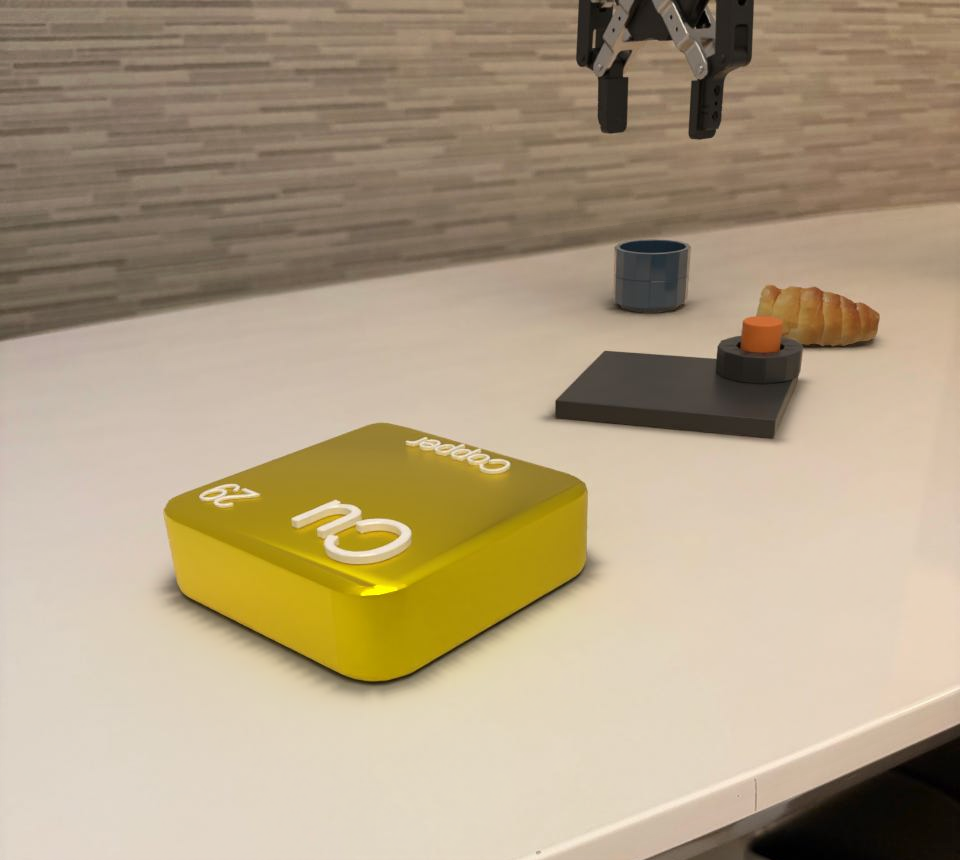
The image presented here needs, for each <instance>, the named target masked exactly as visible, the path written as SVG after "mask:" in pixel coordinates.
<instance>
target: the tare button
mask: <svg viewBox="0 0 960 860" xmlns="http://www.w3.org/2000/svg"><path fill="white" fill-rule="evenodd" d="M782 326H783V321H782V320H781V319H778V318H775V317H769V316H756V315H755V316H749V317H746V318H744V319H743V320H742V327H741V335H740V336H741V347H740V349H741V350H745V351H749V352H761V353H766V352H777V351H780V344H781V335H782Z"/></svg>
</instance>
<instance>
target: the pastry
mask: <svg viewBox="0 0 960 860" xmlns="http://www.w3.org/2000/svg"><path fill="white" fill-rule="evenodd" d="M758 302H759V303H758V307H757V311H756V313H755V316H769V317H775V318H778V319H781V320H782V321H783V326H782V335H781V337H783V338H787V339H791V340H795V341H797V342H798V343H800V344H801V345H807V346H809V345H811V344H815V345H820V346H821V347H822V348H823V347H824V346H831V347H834V346H843V347H845V346H847V345H851V344H855V343H857V342H869V341H870V340H871V339H874V338H875V337H876V336H877V335H878V332H879V324H880V315H881V314H880V313H879V312H878V311H876V310H875V309H873V308H872V307H871V306H869V305H867V304H866V303H864V302H861V301H860V302H854V301H853V300H851V299H849V298H847V297H846V296H844V295H842V294H841V295H840V294H839V293H834V292H832V291H824V290H821V289H820V288H819V287H817V286H810V287H800V286H793V285H791V286H788V287H786V288H778V287H777V286H776V285H774V284H766V285H765V286H764V287H763V288H762V290H761V292H760V298H759V301H758Z"/></svg>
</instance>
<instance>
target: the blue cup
mask: <svg viewBox="0 0 960 860" xmlns="http://www.w3.org/2000/svg"><path fill="white" fill-rule="evenodd" d="M691 252H692V246H691V245H690V244H689V243H687V242H684V241H682V240H674V239H659V238H658V239H656V238H651V239H649V238H647V239H634V240H627V241H622V242H619V243H617V244H616V245H614V254H613V255H614V259H613V289H612V292H613V293H612V294H613V295H612V299H613V301H614V303H615V304H618V305H619V307H620V308H622V309H623V310H626V311H630V312H635V313H652V314H653V313H665V312H671V311H674V310H676V309H679V308H680V306H681V305H683V304H685V303H687V300H689V299H688V298H689V283H690V269H691V254H692V253H691Z"/></svg>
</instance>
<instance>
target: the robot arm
mask: <svg viewBox="0 0 960 860" xmlns="http://www.w3.org/2000/svg"><path fill="white" fill-rule="evenodd" d="M710 1H711V0H578V11H577V31H576V32H577V33H576V49H575V51H576V53H575V60H576V65H577V66H579V67H580V68H588V69H589V70H591V71H592V72H593V73H594V75H595V76H596V77H597V121H598V125H599V127H600V132H601V133H602V134H608V135H612V134H620V133H624V132H625V131H627V128H628V127H627V126H628V107H629V106H628V104H629V76H624V75H625V73H626V72H627V70H628V68H629V67H630V65H631V63H632V62H633V59H634V57H635V56H636V53H637V52H638V51H640V50H641V49H642V48H644V47H645V45H646V43H647V42H648V41H658V42H673V43H674V46H675V48H676V49H677V50H678V51H679V52H681V53H682V54H683V55H684V56H685V59H686V61H687V63H688V65H689V67H690V69H691V72H692V74H693V76H694V77H695V78H696V79H695V80H691V81H690V96H689V97H690V98H689V114H688V131H687V132H688V133H687V134H688V137H689V139H690V140H697V141H699V140H701V141H702V140H708V139H712V138H714V137H715V135H716V133H717V130H719V129H720V126H721V123H722V118H723V117H722V115H723V113H722V112H723V104H724V103H723V102H724V88H725V87H724V86H725V80H726V77H727V76H728V75H729V74H730V73H731V72H733V71H736V70H738V69H739V68H745V67H747V66H749V65H750V63H751V61H752V58H753V40H754V39H753V37H754V14H755V13H754V9H755V7H754V6H755V0H714V2H715V18H714V16H713V14H712V11H711V10H710V7H709V5H708V4H709V2H710ZM614 4H615V5H616V9H615V10H614ZM594 32H595V39H594ZM594 40H595V41H594ZM593 45H594V47H593Z"/></svg>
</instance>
